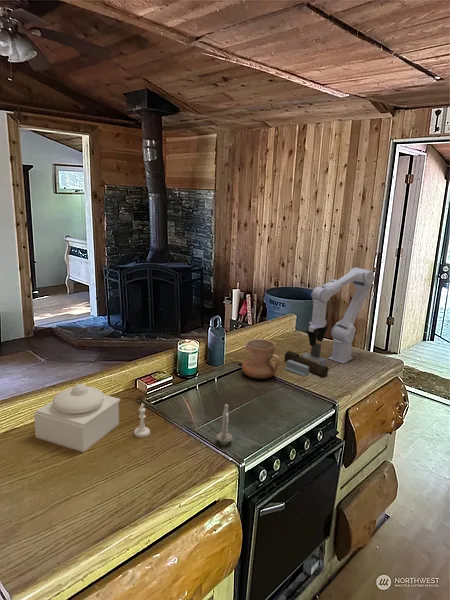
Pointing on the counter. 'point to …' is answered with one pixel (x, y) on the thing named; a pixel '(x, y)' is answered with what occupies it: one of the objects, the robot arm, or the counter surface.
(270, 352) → the ceramic jug
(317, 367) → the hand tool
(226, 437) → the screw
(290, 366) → the fixed jaw
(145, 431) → the chess piece
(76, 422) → the butter dish
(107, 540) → the counter surface
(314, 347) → the free jaw
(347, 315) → the robot arm
